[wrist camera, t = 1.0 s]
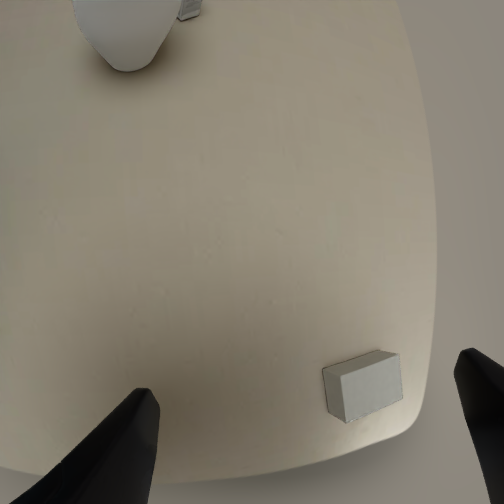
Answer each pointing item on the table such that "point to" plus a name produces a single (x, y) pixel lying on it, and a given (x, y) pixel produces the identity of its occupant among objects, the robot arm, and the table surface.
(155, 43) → the mug
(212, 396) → the table surface
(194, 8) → the ink cartridge box
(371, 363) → the gray rectangular box
